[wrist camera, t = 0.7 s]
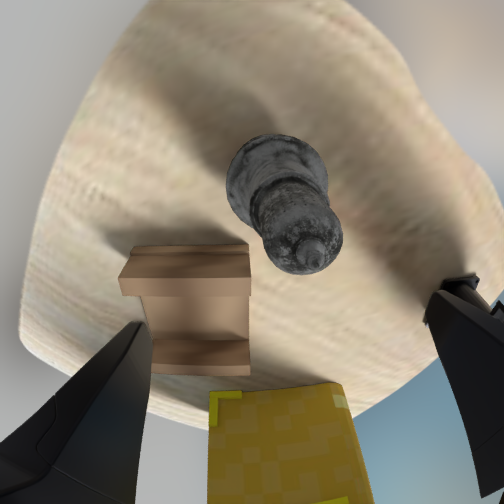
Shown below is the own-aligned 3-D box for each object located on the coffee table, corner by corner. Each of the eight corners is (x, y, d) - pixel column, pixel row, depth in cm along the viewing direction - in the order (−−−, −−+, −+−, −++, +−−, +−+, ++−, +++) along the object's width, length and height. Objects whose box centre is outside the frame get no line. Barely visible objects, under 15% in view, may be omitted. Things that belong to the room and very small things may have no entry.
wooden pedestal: (248, 244, 21) (251, 274, 18) (248, 344, 27) (250, 376, 23) (134, 246, 21) (116, 275, 17) (158, 343, 26) (151, 374, 23)
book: (218, 415, 34) (219, 578, 12) (209, 391, 31) (207, 586, 9) (338, 402, 34) (374, 557, 12) (347, 377, 31) (396, 558, 9)
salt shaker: (240, 119, 17) (246, 138, 6) (324, 145, 18) (431, 206, 7) (218, 201, 19) (199, 322, 9) (297, 220, 20) (353, 344, 10)
